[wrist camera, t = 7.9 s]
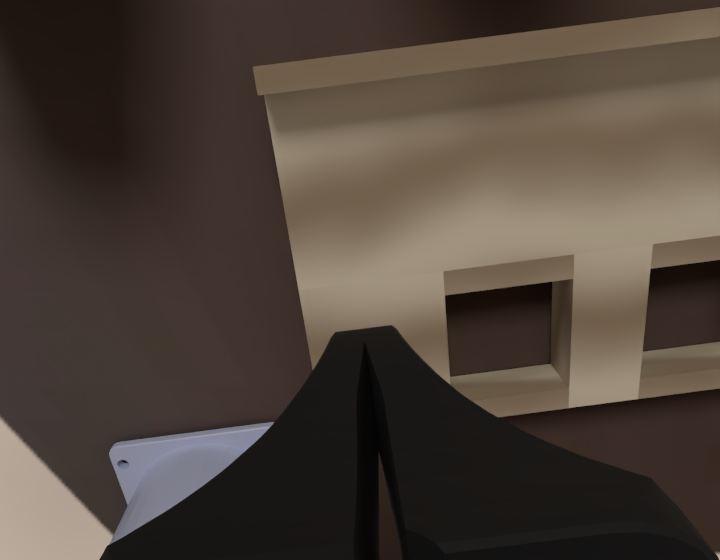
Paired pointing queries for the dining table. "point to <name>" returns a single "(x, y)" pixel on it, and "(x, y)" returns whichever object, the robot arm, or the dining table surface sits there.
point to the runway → (508, 194)
